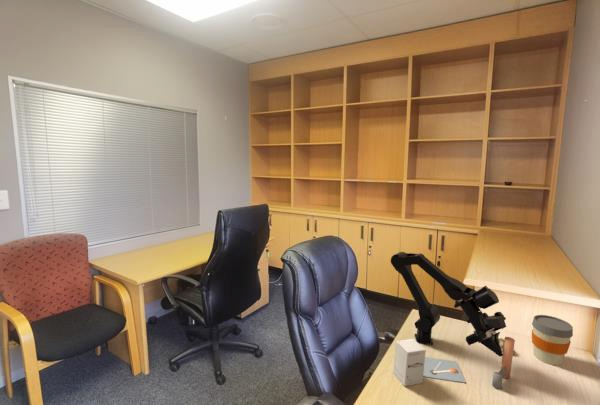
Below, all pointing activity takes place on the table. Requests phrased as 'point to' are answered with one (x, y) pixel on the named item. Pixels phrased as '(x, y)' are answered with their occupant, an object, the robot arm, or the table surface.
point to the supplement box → (409, 362)
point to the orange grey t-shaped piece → (504, 363)
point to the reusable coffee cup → (550, 339)
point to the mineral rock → (502, 344)
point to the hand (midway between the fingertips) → (501, 356)
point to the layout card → (442, 370)
